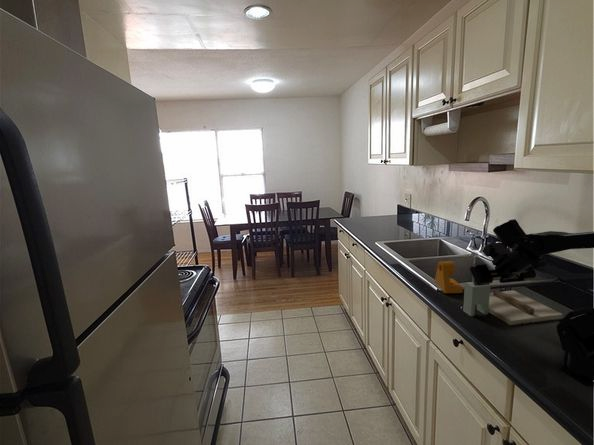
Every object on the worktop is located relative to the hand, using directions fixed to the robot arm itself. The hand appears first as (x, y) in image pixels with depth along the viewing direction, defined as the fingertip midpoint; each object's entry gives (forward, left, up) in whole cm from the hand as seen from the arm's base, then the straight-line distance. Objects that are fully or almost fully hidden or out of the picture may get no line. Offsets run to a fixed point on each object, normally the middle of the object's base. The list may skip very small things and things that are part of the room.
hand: (487, 283), depth 105 cm
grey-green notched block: (+4, 0, -13) cm, 13 cm away
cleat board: (+4, -14, -13) cm, 19 cm away
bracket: (+24, -3, -13) cm, 28 cm away
